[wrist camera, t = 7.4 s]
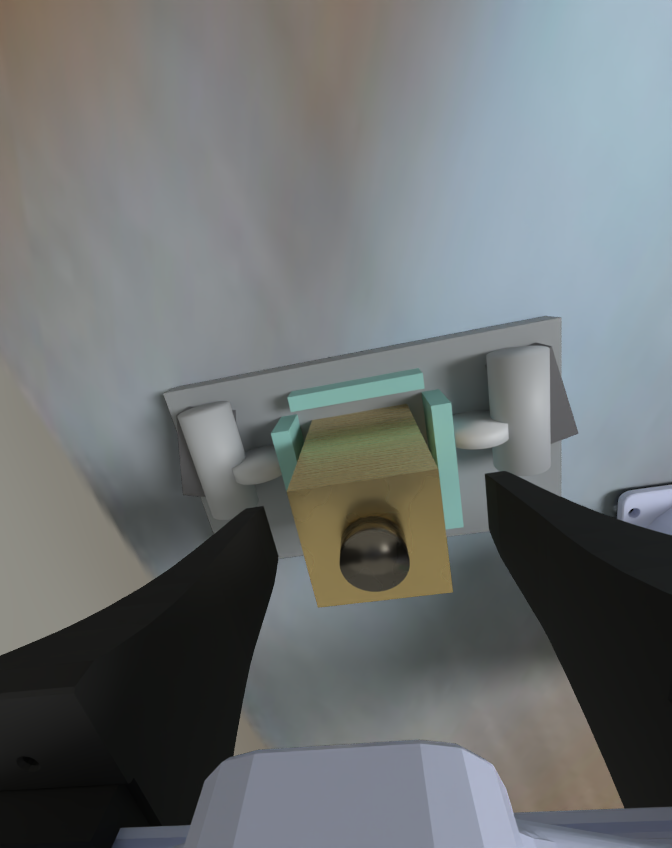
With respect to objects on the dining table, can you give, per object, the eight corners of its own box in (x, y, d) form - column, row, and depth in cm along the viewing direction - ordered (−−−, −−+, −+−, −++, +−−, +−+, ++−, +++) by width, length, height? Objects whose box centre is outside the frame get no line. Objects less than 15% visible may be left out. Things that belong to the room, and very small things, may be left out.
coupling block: (418, 488, 16) (460, 615, 10) (330, 501, 17) (315, 630, 10) (406, 403, 15) (445, 483, 8) (312, 420, 15) (280, 508, 9)
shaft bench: (547, 507, 17) (594, 557, 14) (232, 549, 19) (206, 604, 16) (545, 316, 15) (603, 321, 11) (176, 386, 16) (129, 410, 13)
